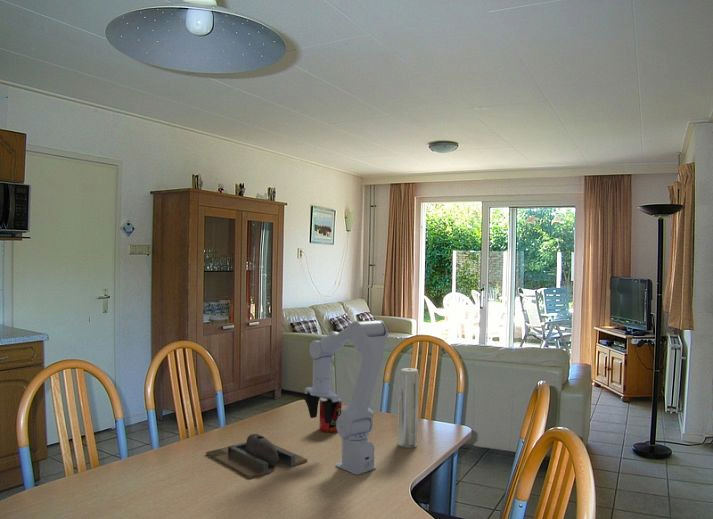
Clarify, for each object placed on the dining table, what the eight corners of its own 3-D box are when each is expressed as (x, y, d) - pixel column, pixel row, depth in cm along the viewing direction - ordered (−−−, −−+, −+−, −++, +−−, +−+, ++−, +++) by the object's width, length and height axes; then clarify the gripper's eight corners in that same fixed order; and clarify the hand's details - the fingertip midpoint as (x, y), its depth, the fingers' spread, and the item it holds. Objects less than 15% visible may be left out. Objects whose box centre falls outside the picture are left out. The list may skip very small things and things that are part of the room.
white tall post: (417, 442, 188) (418, 367, 188) (417, 448, 182) (418, 371, 182) (398, 441, 189) (399, 366, 189) (397, 447, 182) (398, 370, 182)
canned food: (332, 434, 195) (332, 402, 195) (314, 429, 200) (315, 399, 200) (345, 429, 201) (346, 398, 201) (328, 425, 206) (329, 395, 206)
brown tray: (307, 461, 168) (307, 451, 168) (249, 478, 154) (250, 468, 154) (260, 441, 186) (261, 432, 186) (205, 454, 173) (206, 445, 173)
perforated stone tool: (284, 468, 163) (284, 444, 163) (268, 472, 160) (268, 447, 160) (259, 453, 175) (259, 431, 175) (244, 457, 172) (244, 434, 172)
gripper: (297, 375, 182) (297, 417, 182) (326, 383, 171) (325, 427, 171) (314, 372, 187) (314, 413, 187) (343, 380, 176) (343, 423, 176)
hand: (320, 420), depth 179 cm, fingers open, 7 cm apart
